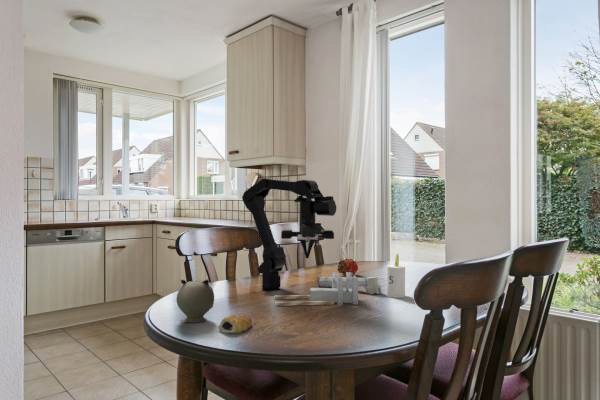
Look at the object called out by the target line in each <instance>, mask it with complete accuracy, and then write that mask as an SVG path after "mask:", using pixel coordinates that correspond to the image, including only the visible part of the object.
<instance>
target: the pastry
mask: <svg viewBox="0 0 600 400" xmlns="http://www.w3.org/2000/svg"><path fill="white" fill-rule="evenodd" d="M251 326H252V318H251V317H249V316H246V315H241V314H237V315H235V314H231V315H228V316H226V317H224V318H223V319H222V320H221V321H220V323H219V324H218V326H217V327H218V330H219V332H222V333H227V334H241V333H242V332H244V331H248V329H249V328H250V327H251Z"/></svg>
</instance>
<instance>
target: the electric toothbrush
mask: <svg viewBox="0 0 600 400" xmlns="http://www.w3.org/2000/svg"><path fill="white" fill-rule="evenodd" d="M341 277H342V278H343V288H344V287H345V288H346V277H345V276H341ZM357 278H358V287H364V288H363V289H365V293H366V294H369V295H374V294H377V295H378V294H381V293H382V287H383V285H382V284H380V283H379V278H378V277H377V276H368V277H357ZM317 285H318V288H332V276H329V275H327V276H319V277H318V278H317Z"/></svg>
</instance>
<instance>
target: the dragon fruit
mask: <svg viewBox="0 0 600 400" xmlns="http://www.w3.org/2000/svg"><path fill="white" fill-rule="evenodd" d="M337 265H338V266H337V272H338V274H342V275H343V276H342V277H346V272H352V273H353V274H354V275H355V276H356V273H357V272H358V270H359V266H358V263H357V261H356V260H354V259H353V258H345V259H342V260H340V261H339V262H338V264H337Z"/></svg>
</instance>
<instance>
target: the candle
mask: <svg viewBox="0 0 600 400" xmlns="http://www.w3.org/2000/svg"><path fill="white" fill-rule="evenodd" d="M399 259H400V258H399V254H398V253H396V255H395V260H394V264H387V265H386V296H387V298H388V297H389V298H394V299H403V298H405V297H406V266H405V265H402V264H399V262H400V260H399Z"/></svg>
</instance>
